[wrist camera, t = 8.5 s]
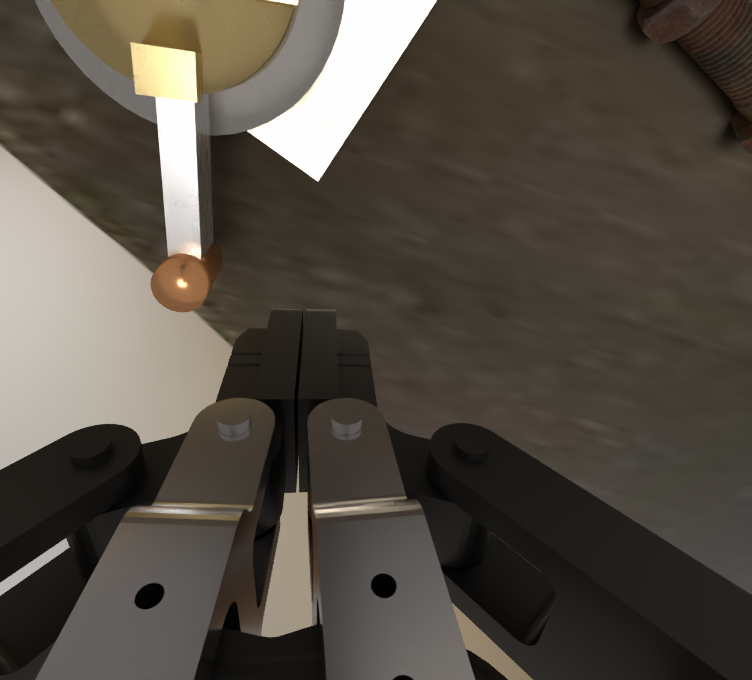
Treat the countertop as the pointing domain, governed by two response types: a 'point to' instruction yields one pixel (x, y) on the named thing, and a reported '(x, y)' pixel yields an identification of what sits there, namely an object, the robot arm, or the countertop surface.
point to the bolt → (710, 46)
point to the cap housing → (290, 76)
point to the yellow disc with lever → (184, 103)
